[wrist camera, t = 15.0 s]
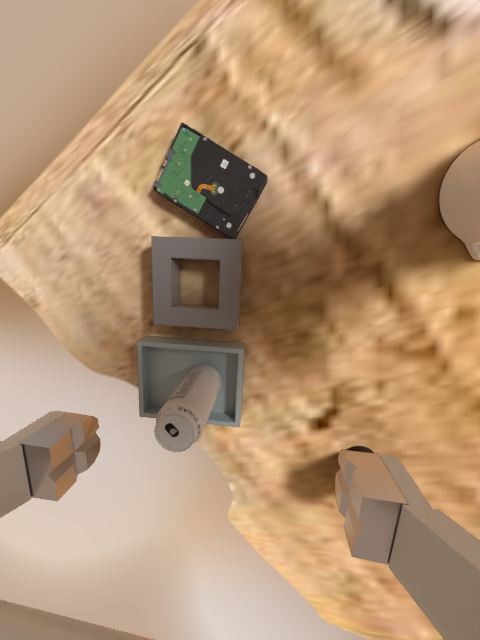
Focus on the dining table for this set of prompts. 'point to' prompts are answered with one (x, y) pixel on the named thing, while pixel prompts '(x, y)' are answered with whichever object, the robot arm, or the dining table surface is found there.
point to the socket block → (168, 281)
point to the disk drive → (209, 181)
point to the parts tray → (175, 364)
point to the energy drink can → (188, 409)
